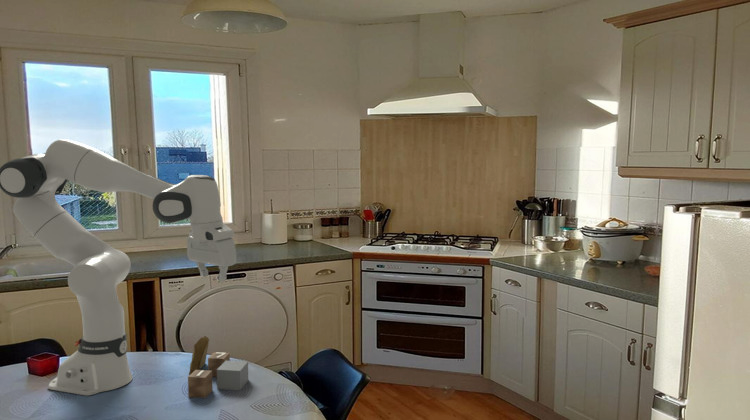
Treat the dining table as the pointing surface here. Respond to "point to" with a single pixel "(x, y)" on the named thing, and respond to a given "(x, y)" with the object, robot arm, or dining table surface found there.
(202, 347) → the rock
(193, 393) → the walnut block one
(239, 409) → the dining table surface
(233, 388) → the grey block
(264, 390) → the dining table surface
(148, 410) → the dining table surface
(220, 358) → the walnut block seven
